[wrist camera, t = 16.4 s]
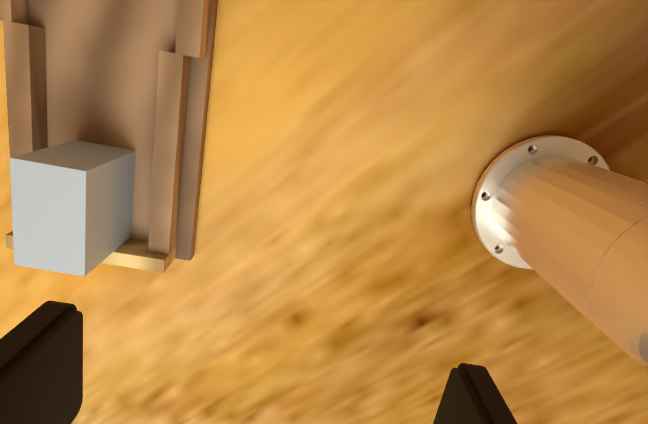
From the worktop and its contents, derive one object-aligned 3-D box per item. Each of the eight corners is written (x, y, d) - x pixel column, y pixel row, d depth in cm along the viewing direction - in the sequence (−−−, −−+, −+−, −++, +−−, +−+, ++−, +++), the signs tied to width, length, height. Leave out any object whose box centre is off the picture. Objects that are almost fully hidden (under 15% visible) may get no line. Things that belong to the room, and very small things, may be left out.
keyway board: (228, -109, 31) (214, -136, 27) (193, 255, 40) (179, 275, 36) (5, -158, 30) (-43, -194, 26) (22, 227, 39) (-11, 245, 35)
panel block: (135, 150, 36) (85, 171, 28) (131, 236, 38) (84, 276, 31) (76, 139, 35) (9, 157, 28) (75, 226, 38) (14, 264, 30)
